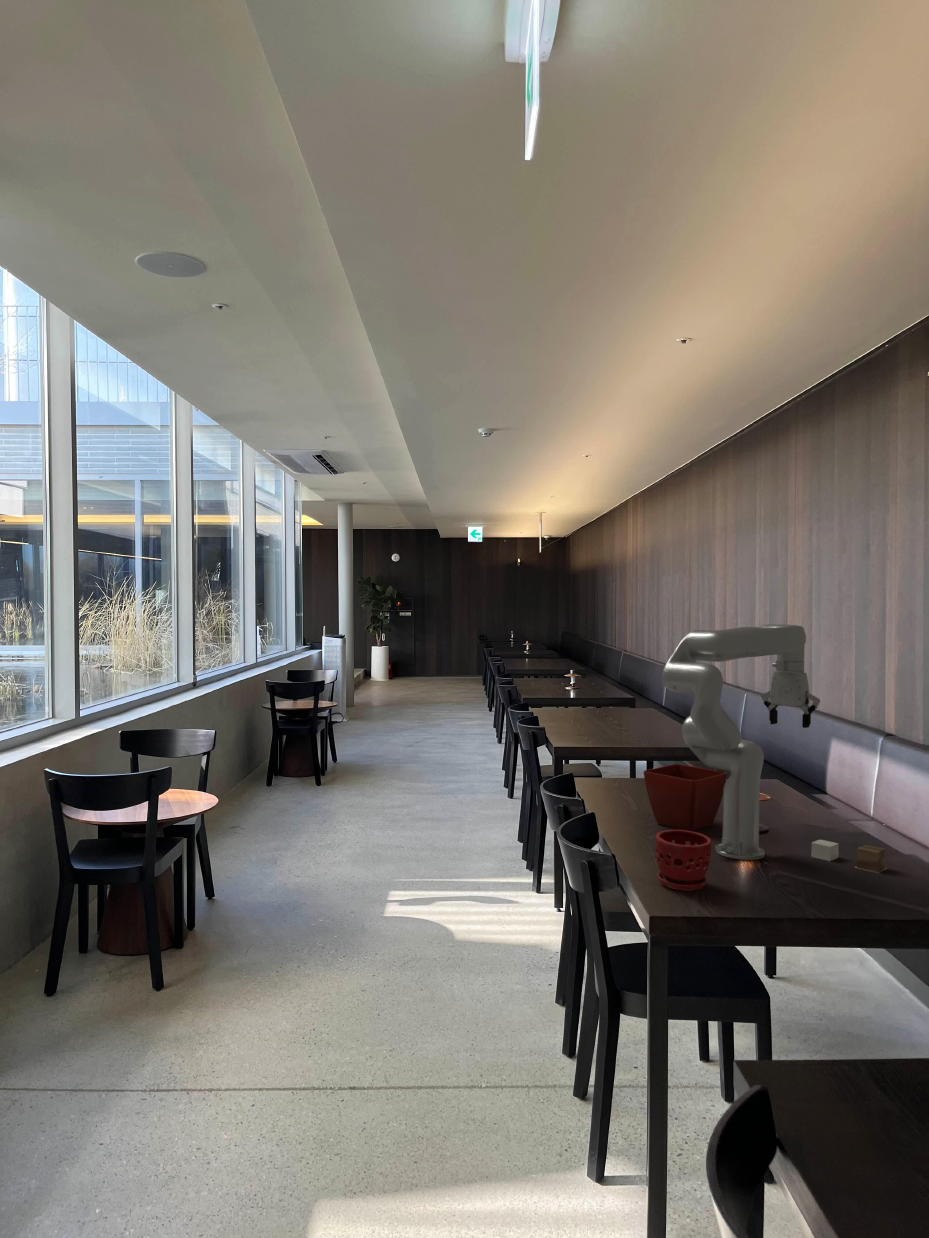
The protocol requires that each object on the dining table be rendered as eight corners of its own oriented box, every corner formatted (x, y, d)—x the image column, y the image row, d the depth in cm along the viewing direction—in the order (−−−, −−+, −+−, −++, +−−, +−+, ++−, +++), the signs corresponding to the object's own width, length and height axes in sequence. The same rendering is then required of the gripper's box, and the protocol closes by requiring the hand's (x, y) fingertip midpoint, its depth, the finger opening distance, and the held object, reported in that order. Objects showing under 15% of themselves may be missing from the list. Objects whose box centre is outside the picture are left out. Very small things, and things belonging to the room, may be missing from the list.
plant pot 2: (644, 885, 196) (645, 836, 196) (673, 873, 205) (673, 826, 205) (693, 898, 186) (693, 847, 186) (720, 885, 196) (721, 836, 196)
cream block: (829, 865, 213) (830, 846, 213) (811, 861, 217) (811, 842, 217) (838, 861, 216) (838, 843, 216) (820, 857, 220) (820, 839, 220)
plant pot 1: (694, 836, 240) (694, 780, 240) (641, 823, 254) (641, 770, 254) (728, 825, 253) (728, 772, 252) (675, 814, 267) (676, 763, 267)
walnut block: (877, 872, 204) (877, 852, 204) (856, 867, 208) (857, 848, 208) (885, 868, 207) (885, 848, 207) (865, 863, 211) (865, 844, 211)
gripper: (756, 666, 239) (755, 723, 239) (814, 669, 226) (813, 730, 226) (768, 665, 244) (767, 721, 244) (825, 668, 231) (824, 727, 231)
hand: (789, 725), depth 235 cm, fingers open, 9 cm apart
